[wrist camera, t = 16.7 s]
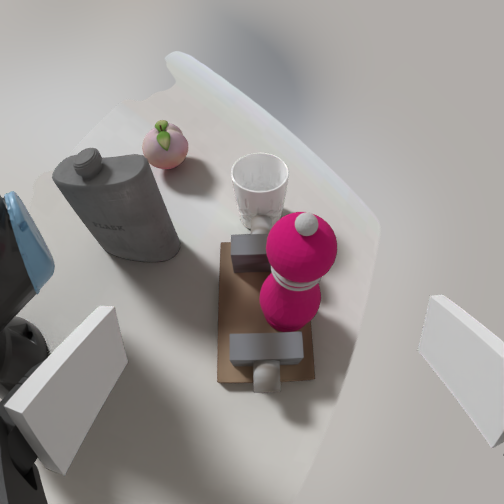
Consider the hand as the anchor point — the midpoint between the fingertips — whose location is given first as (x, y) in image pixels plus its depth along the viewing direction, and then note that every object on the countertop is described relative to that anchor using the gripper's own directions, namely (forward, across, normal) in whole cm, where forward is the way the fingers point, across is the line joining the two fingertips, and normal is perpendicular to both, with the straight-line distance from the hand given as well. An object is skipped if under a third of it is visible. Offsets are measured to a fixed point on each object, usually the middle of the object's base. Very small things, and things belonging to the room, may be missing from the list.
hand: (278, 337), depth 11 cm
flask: (+35, -20, -4) cm, 40 cm away
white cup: (+38, 0, -1) cm, 39 cm away
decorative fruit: (+48, -17, +8) cm, 51 cm away
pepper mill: (+26, +3, -12) cm, 28 cm away
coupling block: (+27, 0, -12) cm, 30 cm away
